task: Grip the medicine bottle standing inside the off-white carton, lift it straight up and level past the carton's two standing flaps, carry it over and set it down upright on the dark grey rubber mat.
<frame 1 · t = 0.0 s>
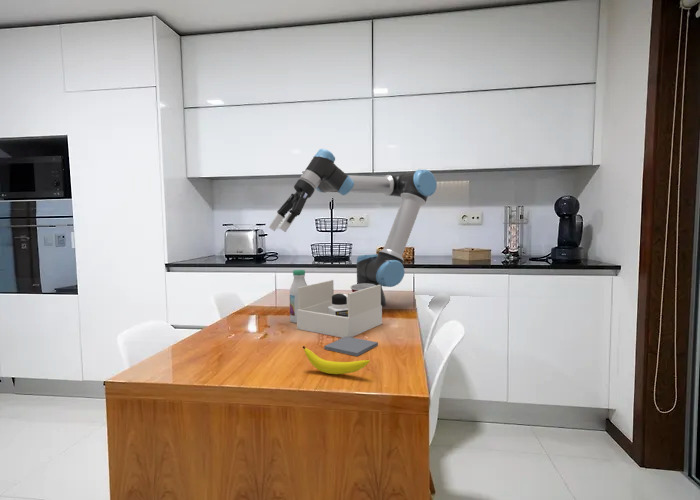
hand: (276, 229, 151), 36 cm above the table, tool tilted 35°, fingers open, 13 cm apart
banana: (335, 375, 103), on the table
milk bottle: (299, 321, 158), on the table
plastic cup: (363, 314, 168), on the table
mat: (351, 347, 125), on the table
medicine bottle: (340, 326, 149), resting in carton
carton: (340, 326, 149), on the table
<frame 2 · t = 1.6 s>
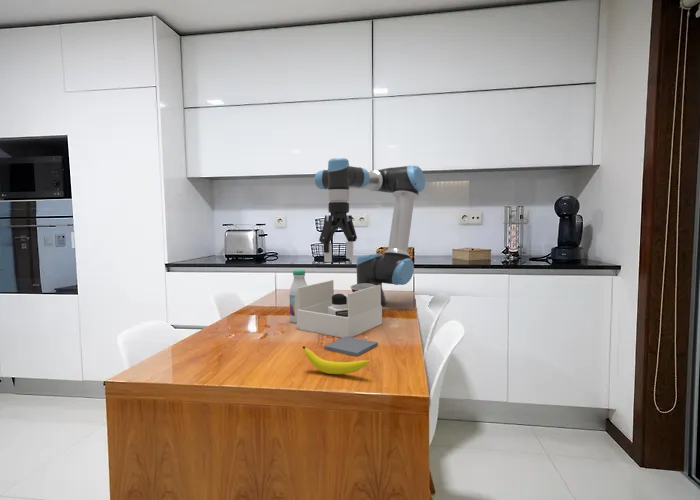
hand: (339, 260, 147), 25 cm above the table, tool pointing down, fingers open, 13 cm apart
nothing on the table moved.
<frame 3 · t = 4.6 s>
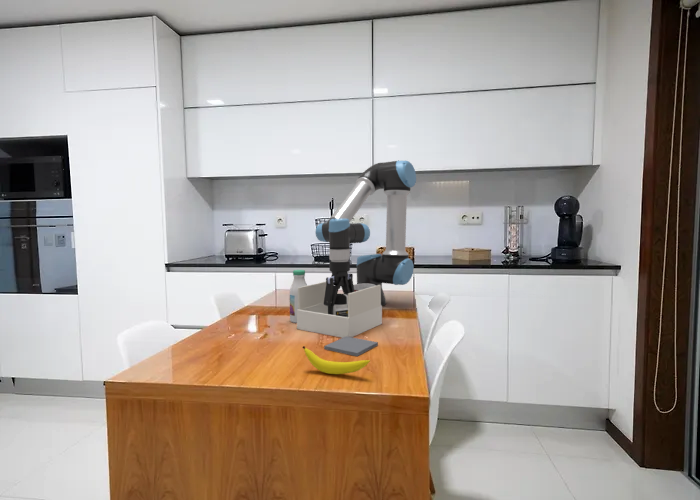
hand: (340, 320, 149), 2 cm above the table, tool pointing down, fingers closed on medicine bottle, 9 cm apart
medicine bottle: (340, 326, 149), resting in carton, touching gripper
everything else where it was.
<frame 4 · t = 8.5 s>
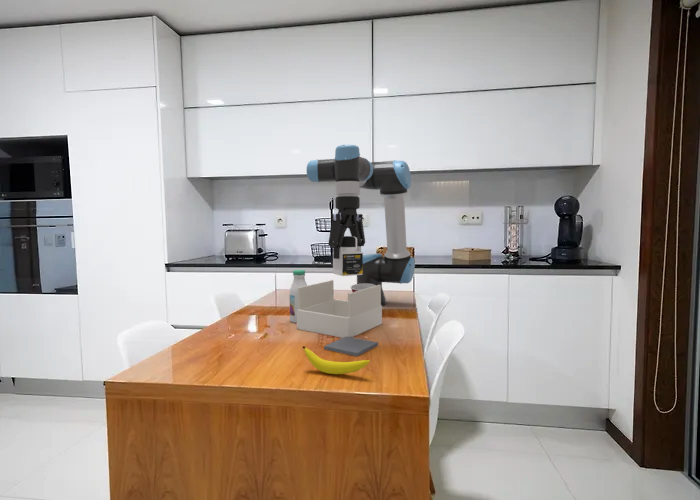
hand: (347, 267, 127), 24 cm above the table, tool pointing down, fingers closed on medicine bottle, 9 cm apart
medicine bottle: (347, 274, 127), point 22 cm above the table, touching gripper
everything else where it was.
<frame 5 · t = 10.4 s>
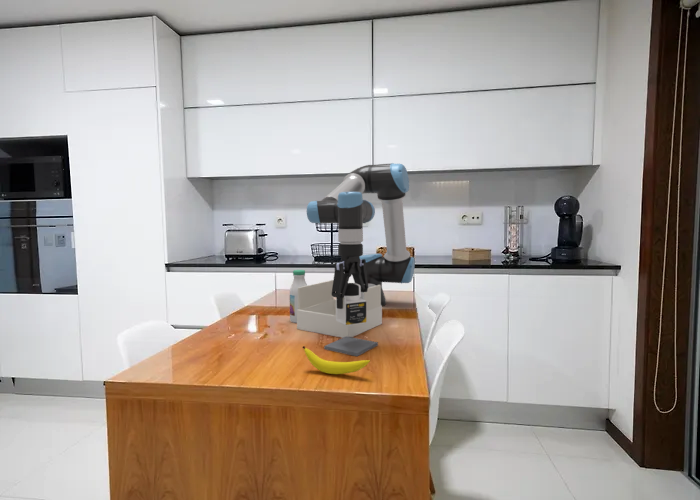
hand: (351, 315, 124), 10 cm above the table, tool pointing down, fingers closed on medicine bottle, 9 cm apart
medicine bottle: (351, 322, 124), point 8 cm above the table, touching gripper
everything else where it was.
when the fingers open (5 cm above the table, at t = 12.3 s): medicine bottle drops 2 cm, resting on mat.
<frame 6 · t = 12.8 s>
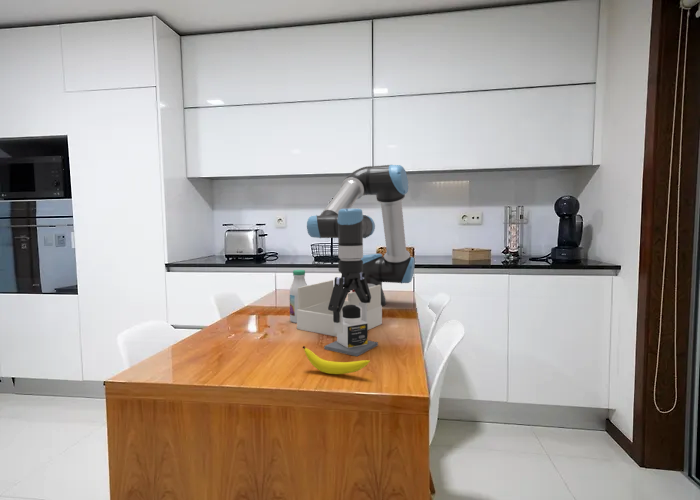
hand: (351, 327, 124), 6 cm above the table, tool pointing down, fingers open, 13 cm apart
medicine bottle: (352, 344, 125), point 1 cm above the table, touching mat
everything else where it was.
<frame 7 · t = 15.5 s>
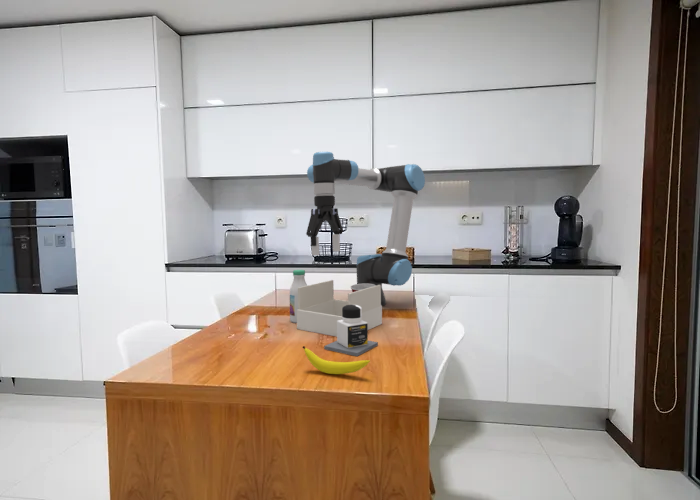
hand: (326, 253, 149), 27 cm above the table, tool pointing down, fingers open, 13 cm apart
nothing on the table moved.
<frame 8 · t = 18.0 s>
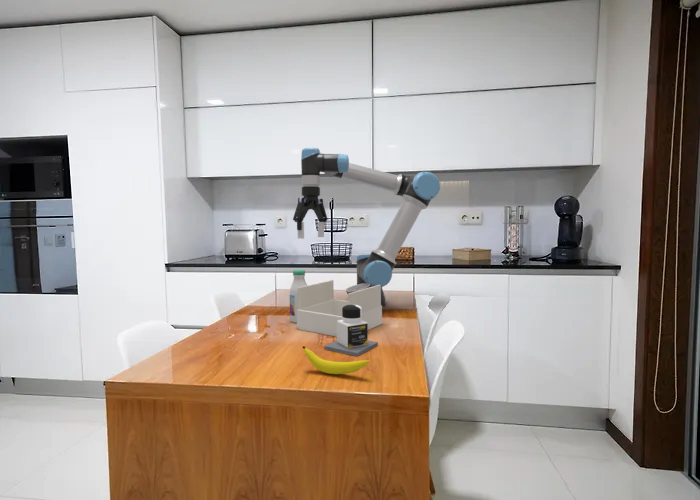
hand: (311, 237, 168), 32 cm above the table, tool pointing down, fingers open, 13 cm apart
plastic cup: (363, 314, 168), on the table, touching arm
everything else where it was.
at the end: medicine bottle inside the target area on the mat (0.4 cm from its centre), point 0.8 cm above the mat's base; medicine bottle tilted 0°; the gripper is holding nothing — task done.
